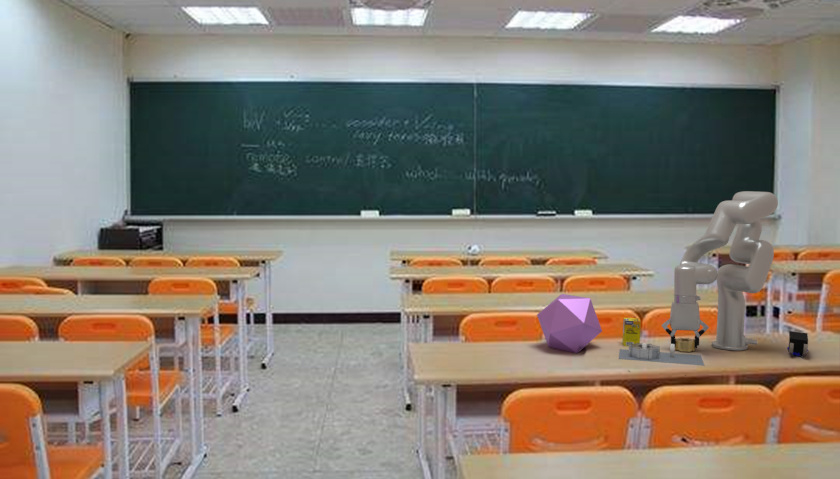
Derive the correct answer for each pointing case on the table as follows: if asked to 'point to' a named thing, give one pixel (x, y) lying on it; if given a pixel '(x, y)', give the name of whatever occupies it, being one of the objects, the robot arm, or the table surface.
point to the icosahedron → (569, 323)
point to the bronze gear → (684, 344)
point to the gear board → (667, 357)
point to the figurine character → (798, 343)
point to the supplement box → (631, 331)
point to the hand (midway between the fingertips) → (684, 346)
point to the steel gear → (644, 351)
